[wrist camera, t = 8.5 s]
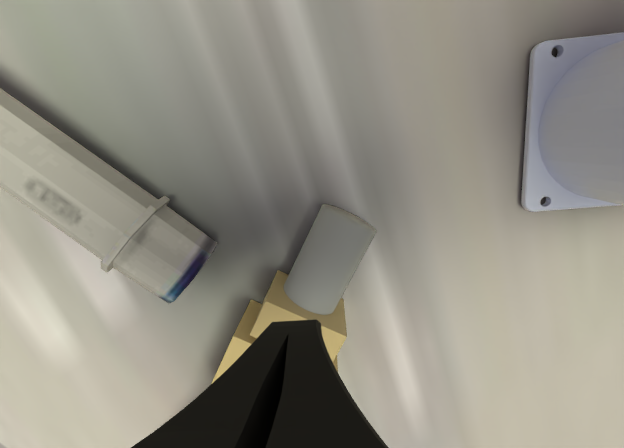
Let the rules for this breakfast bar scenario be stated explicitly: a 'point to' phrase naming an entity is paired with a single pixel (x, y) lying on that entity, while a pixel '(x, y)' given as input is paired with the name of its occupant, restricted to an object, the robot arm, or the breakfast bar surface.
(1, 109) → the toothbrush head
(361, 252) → the valve pipe
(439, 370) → the breakfast bar surface
